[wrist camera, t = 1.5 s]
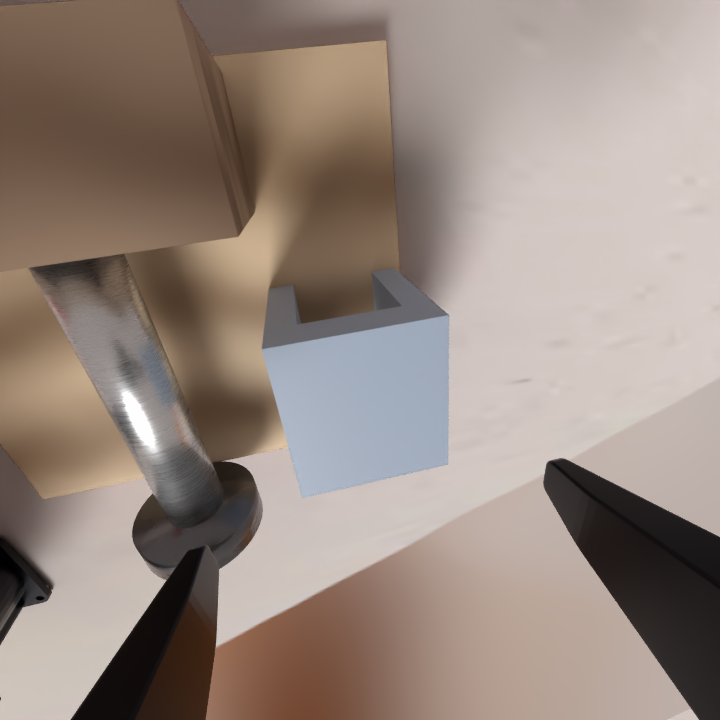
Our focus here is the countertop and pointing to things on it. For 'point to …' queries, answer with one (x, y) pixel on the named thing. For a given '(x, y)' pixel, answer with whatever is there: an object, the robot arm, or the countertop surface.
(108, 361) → the shaft
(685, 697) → the robot arm
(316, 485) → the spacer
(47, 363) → the bearing block
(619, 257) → the countertop surface
